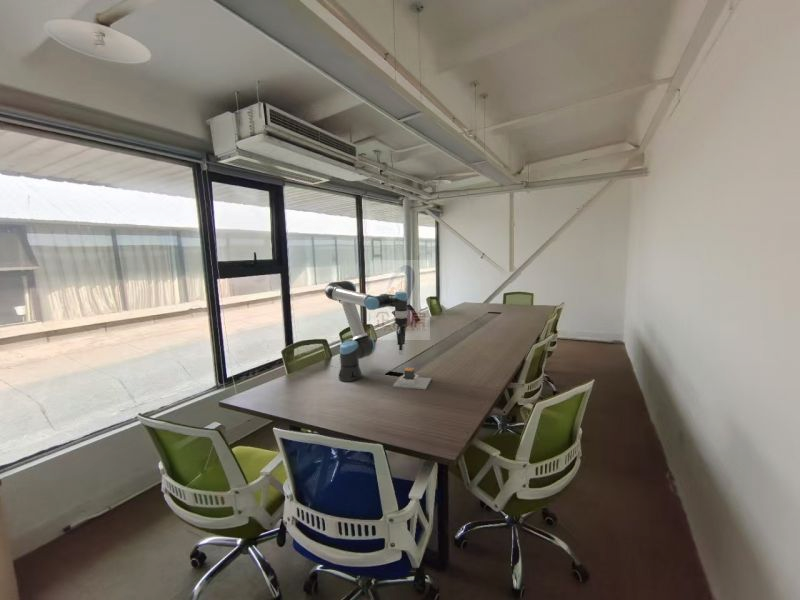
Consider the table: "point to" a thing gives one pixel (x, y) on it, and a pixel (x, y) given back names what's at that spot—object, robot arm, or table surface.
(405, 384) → the socket plate
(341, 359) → the robot arm
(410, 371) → the plug
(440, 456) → the table surface
